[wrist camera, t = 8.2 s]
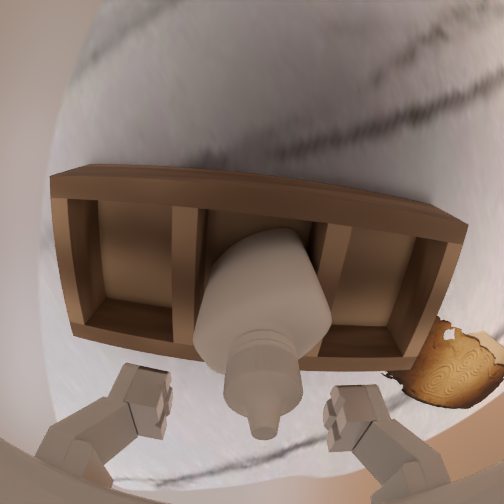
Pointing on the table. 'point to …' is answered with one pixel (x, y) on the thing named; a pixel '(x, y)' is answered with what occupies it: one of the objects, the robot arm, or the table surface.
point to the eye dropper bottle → (262, 324)
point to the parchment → (453, 368)
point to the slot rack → (230, 232)
